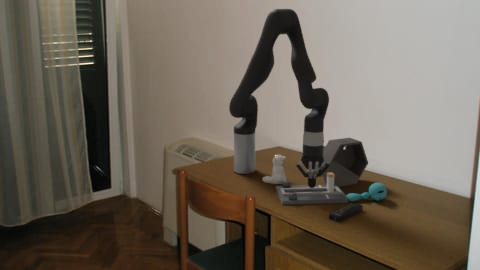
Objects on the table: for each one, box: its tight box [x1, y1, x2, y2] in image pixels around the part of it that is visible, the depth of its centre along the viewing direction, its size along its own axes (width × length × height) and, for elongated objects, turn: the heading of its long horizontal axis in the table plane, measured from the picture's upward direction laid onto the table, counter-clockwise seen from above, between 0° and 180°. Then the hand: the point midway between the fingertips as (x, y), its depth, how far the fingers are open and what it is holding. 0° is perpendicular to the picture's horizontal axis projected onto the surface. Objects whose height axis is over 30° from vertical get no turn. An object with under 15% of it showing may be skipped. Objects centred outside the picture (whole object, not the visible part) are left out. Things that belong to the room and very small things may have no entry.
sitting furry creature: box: [262, 153, 287, 186], centre depth 203 cm, size 10×9×12 cm
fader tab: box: [326, 172, 335, 191], centre depth 188 cm, size 3×2×6 cm
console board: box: [275, 180, 349, 206], centre depth 188 cm, size 16×24×4 cm, turn 95°
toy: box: [345, 182, 388, 203], centre depth 183 cm, size 12×6×15 cm
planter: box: [320, 137, 369, 188], centre depth 201 cm, size 17×8×21 cm
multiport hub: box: [328, 202, 364, 223], centre depth 171 cm, size 4×14×2 cm, turn 135°
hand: (311, 187), depth 188 cm, fingers closed
